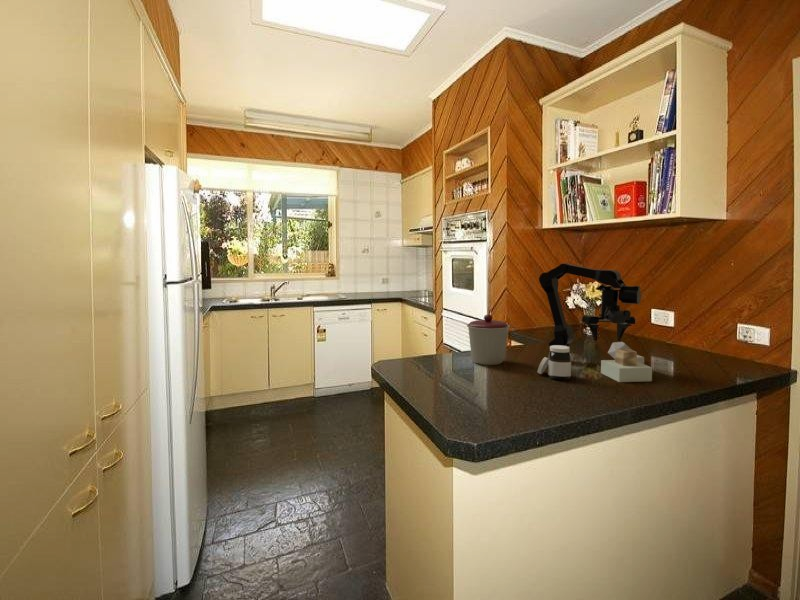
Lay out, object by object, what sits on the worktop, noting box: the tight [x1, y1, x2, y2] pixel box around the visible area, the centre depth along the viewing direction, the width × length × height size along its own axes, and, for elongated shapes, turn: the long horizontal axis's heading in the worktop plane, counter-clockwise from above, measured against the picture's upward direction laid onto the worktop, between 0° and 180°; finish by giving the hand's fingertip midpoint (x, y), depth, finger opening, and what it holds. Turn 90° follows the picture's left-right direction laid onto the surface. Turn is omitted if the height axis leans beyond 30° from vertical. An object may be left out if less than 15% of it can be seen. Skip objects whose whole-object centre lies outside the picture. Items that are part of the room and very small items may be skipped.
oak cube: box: [614, 348, 638, 366], centre depth 147 cm, size 5×5×5 cm
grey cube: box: [637, 354, 645, 365], centre depth 160 cm, size 5×5×5 cm
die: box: [607, 341, 633, 360], centre depth 173 cm, size 8×9×10 cm
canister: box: [466, 314, 511, 366], centre depth 171 cm, size 18×18×21 cm
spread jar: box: [537, 345, 572, 381], centre depth 149 cm, size 12×11×12 cm
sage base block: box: [600, 359, 653, 383], centre depth 148 cm, size 12×12×5 cm
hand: (607, 340), depth 158 cm, fingers open, 9 cm apart
